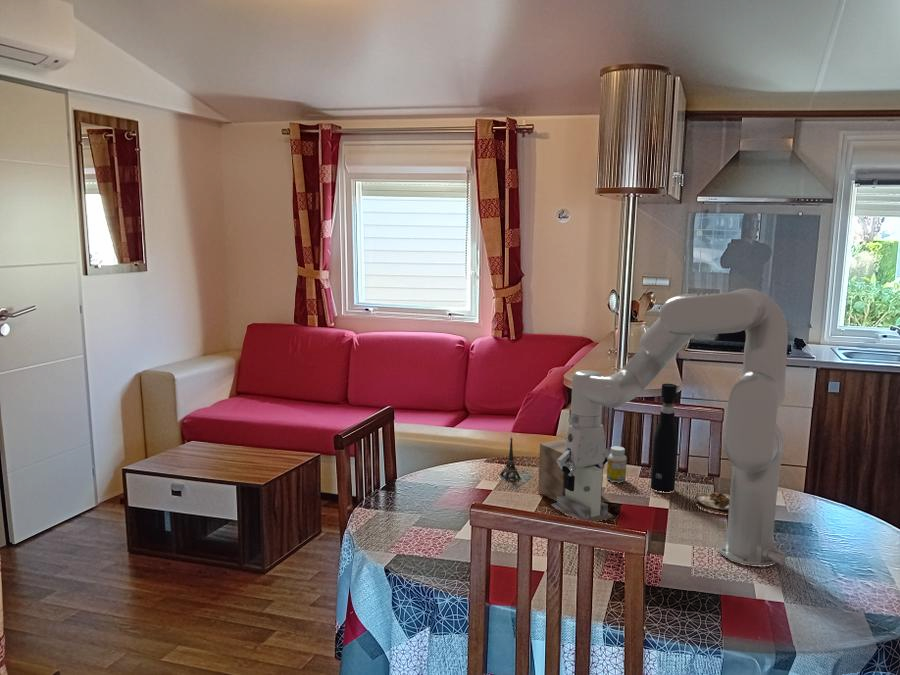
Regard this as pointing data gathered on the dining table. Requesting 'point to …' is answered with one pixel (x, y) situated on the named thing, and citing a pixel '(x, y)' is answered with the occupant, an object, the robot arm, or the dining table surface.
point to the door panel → (587, 488)
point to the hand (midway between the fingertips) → (582, 486)
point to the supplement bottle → (616, 464)
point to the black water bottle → (665, 444)
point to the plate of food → (714, 502)
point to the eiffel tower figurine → (513, 471)
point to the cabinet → (562, 483)
